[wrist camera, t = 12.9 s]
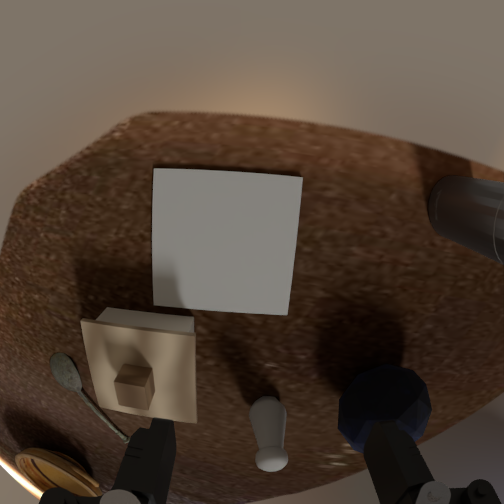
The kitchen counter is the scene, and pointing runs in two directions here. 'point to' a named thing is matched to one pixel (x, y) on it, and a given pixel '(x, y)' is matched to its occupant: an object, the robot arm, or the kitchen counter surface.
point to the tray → (224, 239)
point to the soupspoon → (74, 383)
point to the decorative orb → (383, 403)
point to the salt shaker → (269, 433)
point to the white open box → (148, 319)
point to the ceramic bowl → (56, 472)
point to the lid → (142, 369)
